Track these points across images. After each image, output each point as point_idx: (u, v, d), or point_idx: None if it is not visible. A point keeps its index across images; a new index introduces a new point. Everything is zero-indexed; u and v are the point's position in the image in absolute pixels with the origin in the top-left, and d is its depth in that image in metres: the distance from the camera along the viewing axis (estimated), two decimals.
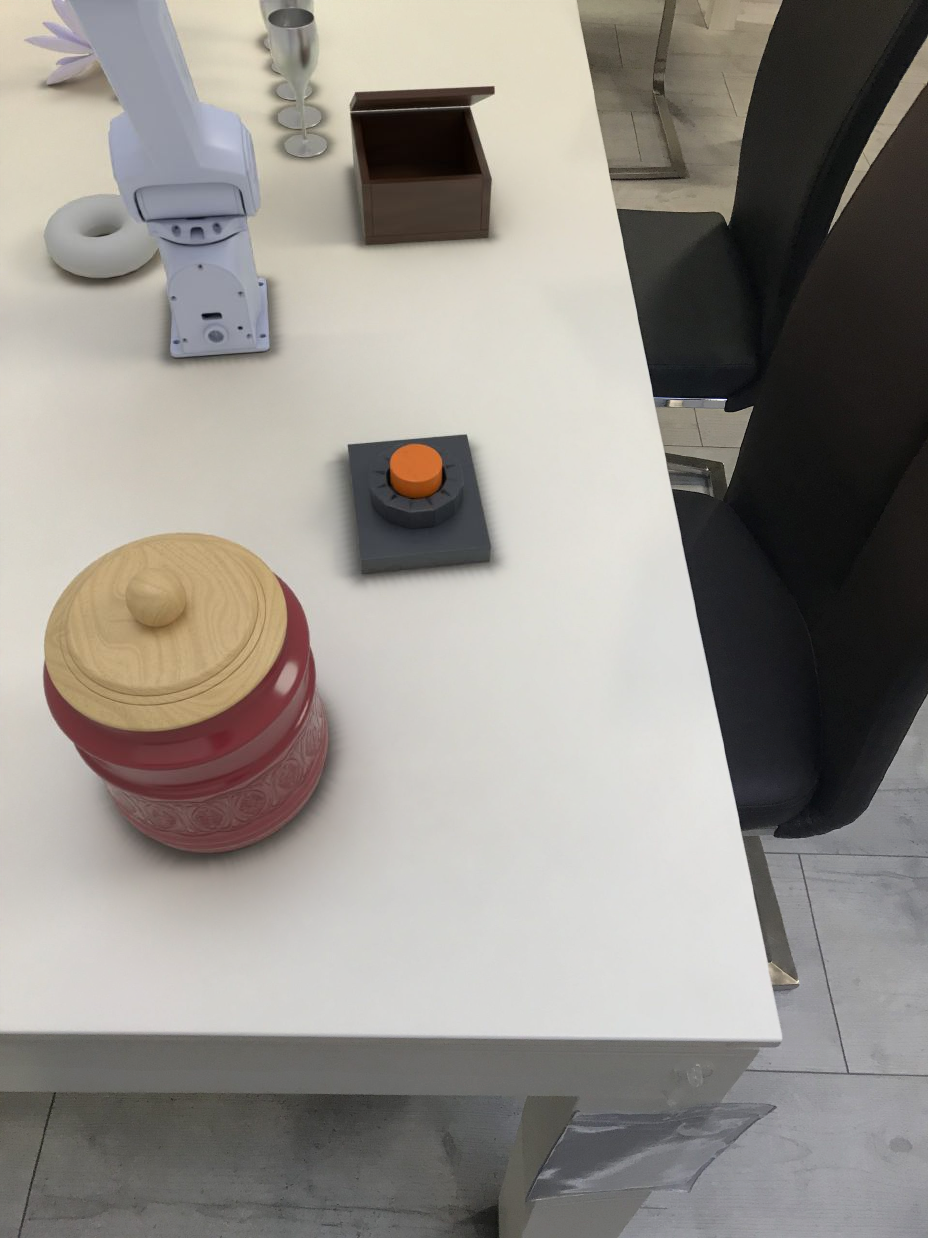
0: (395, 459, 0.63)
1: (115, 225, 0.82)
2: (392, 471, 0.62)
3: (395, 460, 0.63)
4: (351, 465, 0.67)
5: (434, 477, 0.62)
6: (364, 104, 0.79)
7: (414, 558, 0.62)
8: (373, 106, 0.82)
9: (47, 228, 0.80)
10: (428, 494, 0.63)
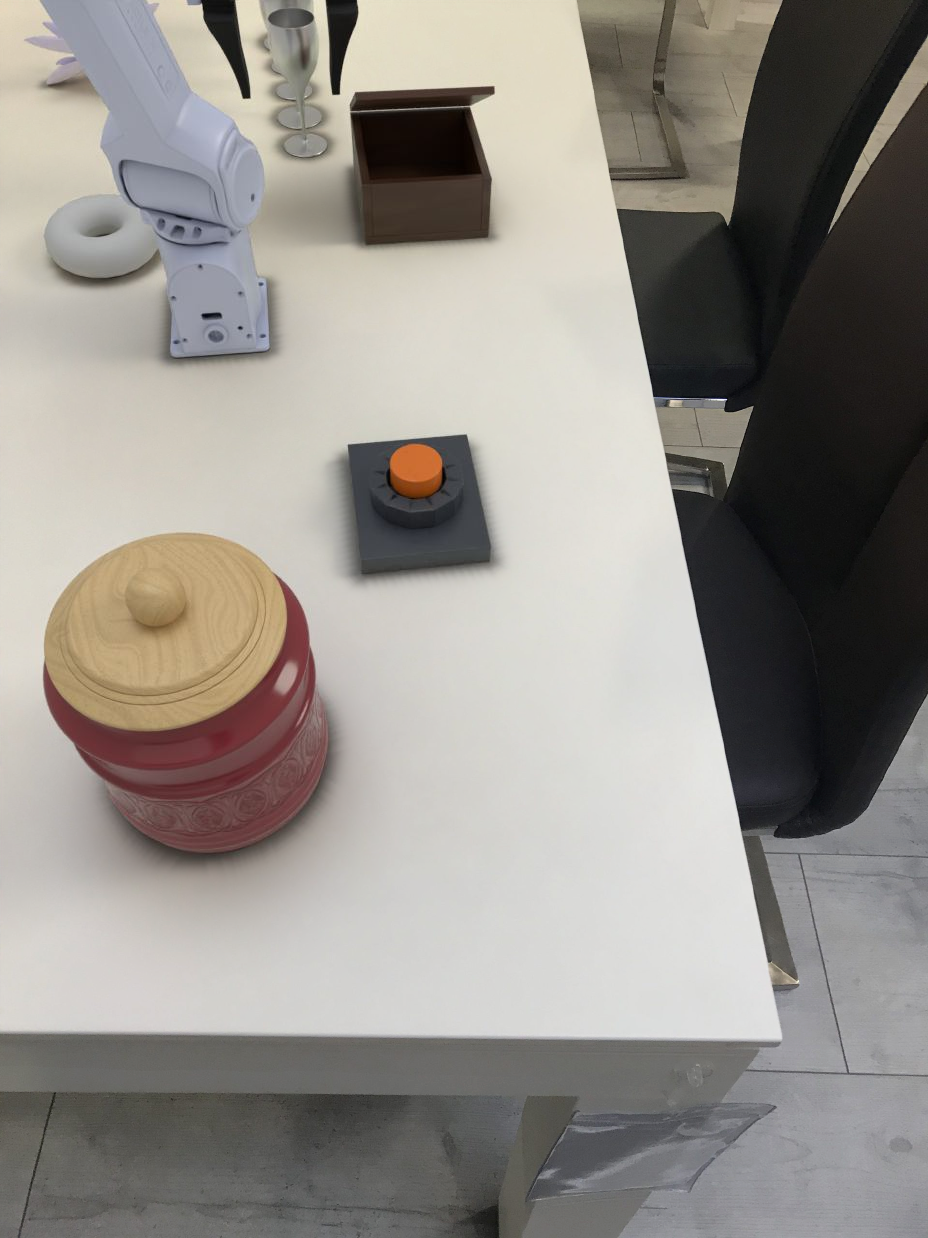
0: (395, 459, 0.63)
1: (115, 225, 0.82)
2: (392, 471, 0.62)
3: (395, 460, 0.63)
4: (351, 465, 0.67)
5: (434, 477, 0.62)
6: (364, 104, 0.79)
7: (414, 558, 0.62)
8: (373, 106, 0.82)
9: (47, 228, 0.80)
10: (428, 494, 0.63)
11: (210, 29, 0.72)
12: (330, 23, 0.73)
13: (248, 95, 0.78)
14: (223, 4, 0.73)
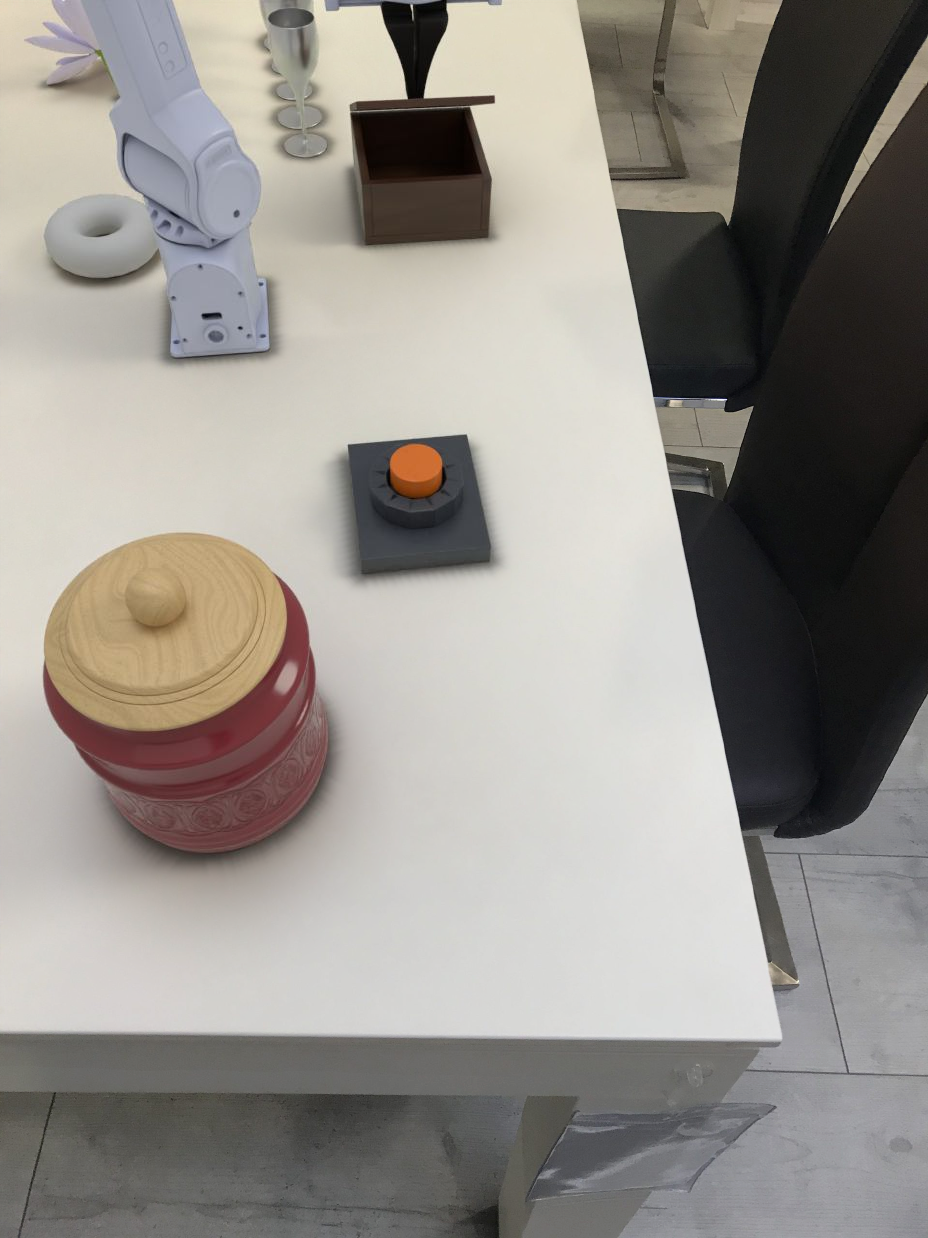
0: (395, 459, 0.63)
1: (115, 225, 0.82)
2: (392, 471, 0.62)
3: (395, 460, 0.63)
4: (351, 465, 0.67)
5: (434, 477, 0.62)
6: None
7: (414, 558, 0.62)
8: None
9: (47, 228, 0.80)
10: (428, 494, 0.63)
11: (390, 33, 0.75)
12: (421, 30, 0.75)
13: (414, 97, 0.80)
14: (402, 8, 0.75)
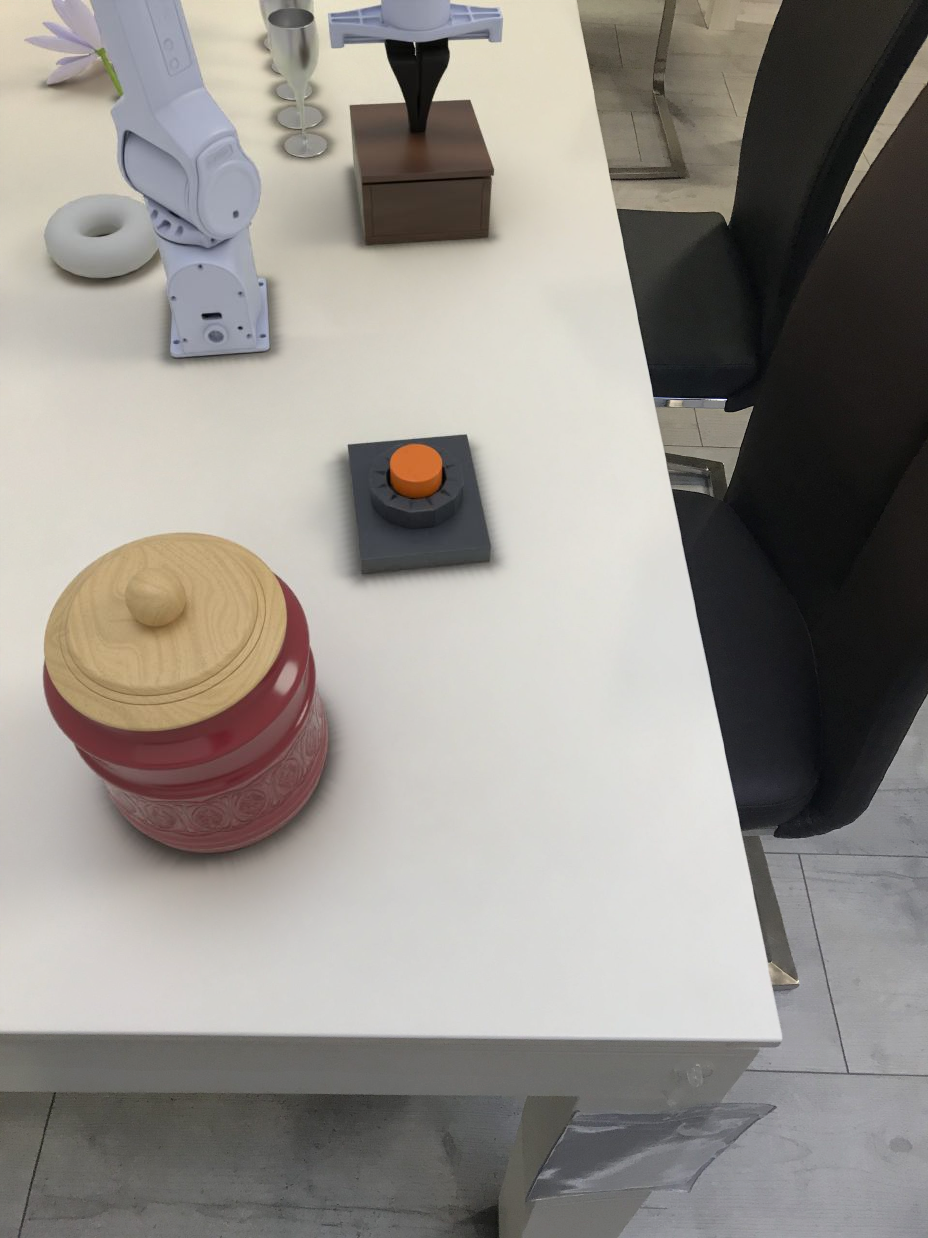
0: (395, 459, 0.63)
1: (115, 225, 0.82)
2: (392, 471, 0.62)
3: (395, 460, 0.63)
4: (351, 465, 0.67)
5: (434, 477, 0.62)
6: None
7: (414, 558, 0.62)
8: None
9: (47, 228, 0.80)
10: (428, 494, 0.63)
11: (393, 69, 0.77)
12: (423, 66, 0.77)
13: (416, 129, 0.83)
14: (405, 45, 0.77)
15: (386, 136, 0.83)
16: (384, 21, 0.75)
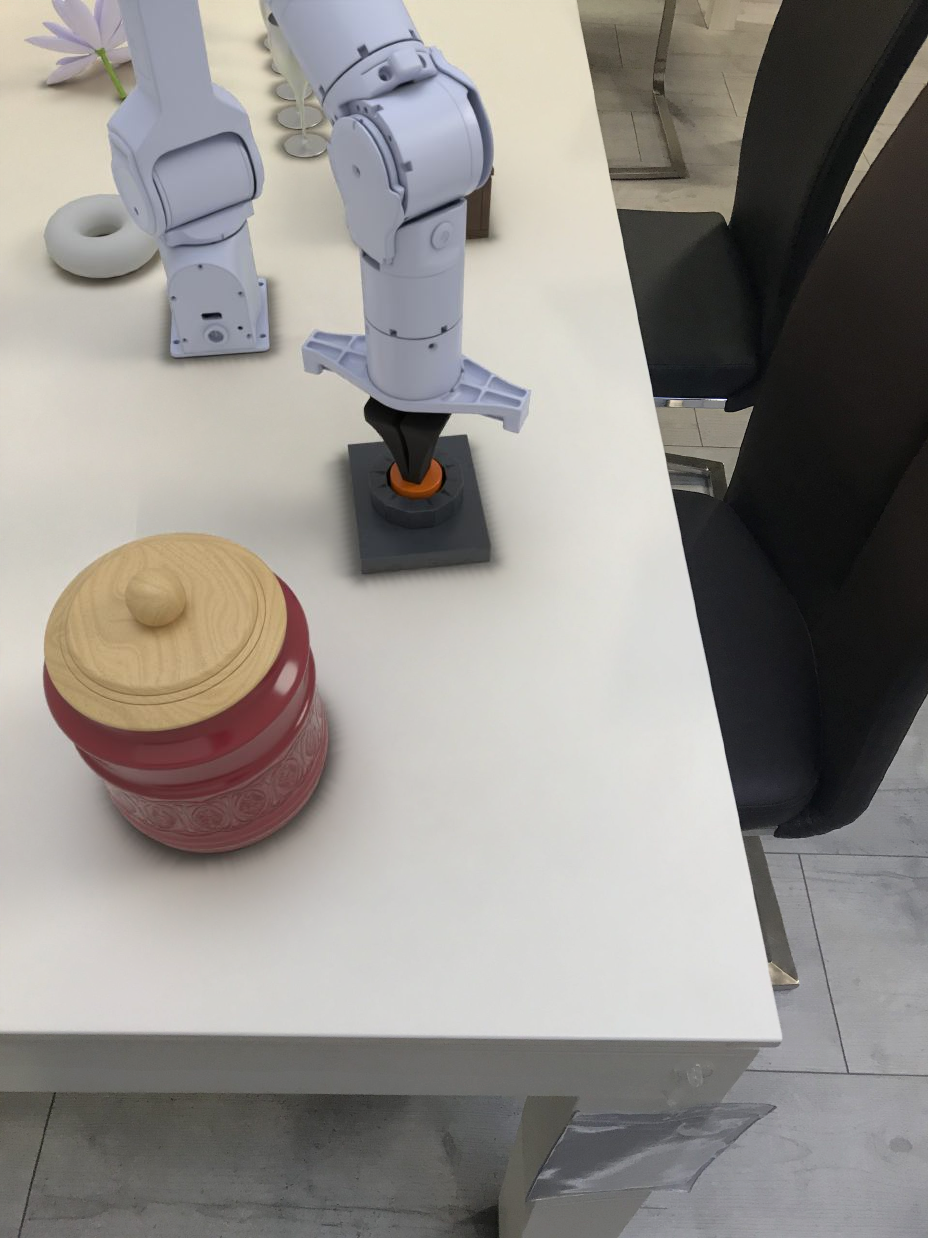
0: (395, 469, 0.64)
1: (115, 225, 0.82)
2: (392, 481, 0.63)
3: (395, 470, 0.63)
4: (351, 465, 0.67)
5: (434, 487, 0.63)
6: None
7: (414, 558, 0.62)
8: None
9: (47, 228, 0.80)
10: None
11: (367, 422, 0.57)
12: (403, 432, 0.57)
13: (408, 480, 0.63)
14: None
15: None
16: (367, 366, 0.56)
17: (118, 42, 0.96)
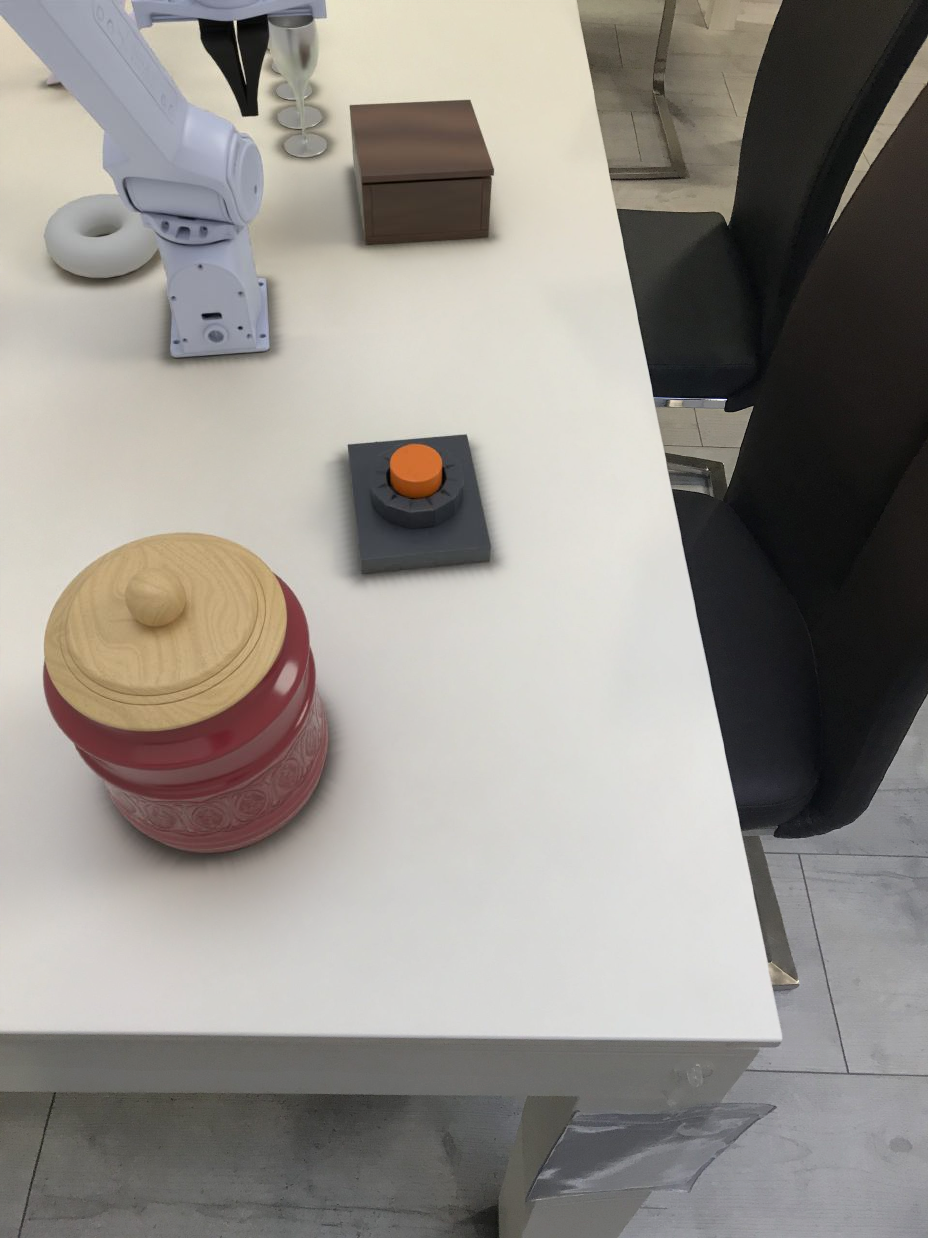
0: (395, 459, 0.63)
1: (115, 225, 0.82)
2: (392, 471, 0.62)
3: (395, 460, 0.63)
4: (351, 465, 0.67)
5: (434, 477, 0.62)
6: None
7: (414, 558, 0.62)
8: None
9: (47, 228, 0.80)
10: (428, 494, 0.63)
11: (207, 50, 0.71)
12: (240, 47, 0.71)
13: (247, 113, 0.77)
14: (220, 23, 0.71)
15: (386, 136, 0.83)
16: None
17: None
